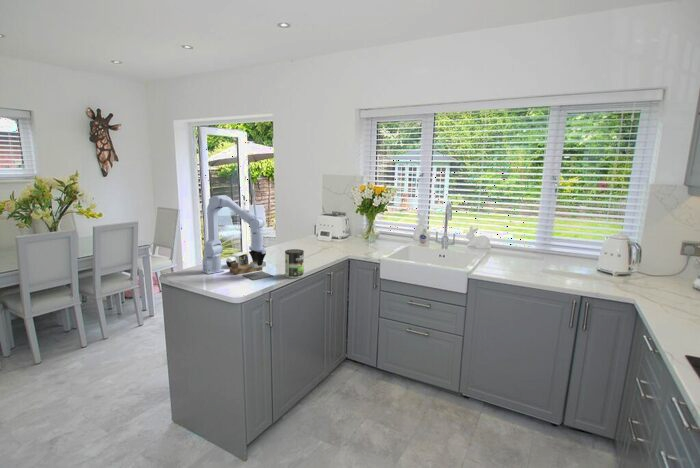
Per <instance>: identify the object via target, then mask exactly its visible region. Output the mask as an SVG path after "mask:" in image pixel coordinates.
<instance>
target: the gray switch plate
mask: <svg viewBox="0 0 700 468" xmlns="http://www.w3.org/2000/svg"><path fill="white" fill-rule="evenodd" d="M242 276H243V277H245V278H247V279H249V280H252V281H257V280H263V279H267V278H272V277H274V275H273V274H270V273H268V272H265V271H263V270H260V271H255V272H249V273H244V274H242Z"/></svg>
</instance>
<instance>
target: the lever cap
mask: <svg viewBox="0 0 700 468" xmlns="http://www.w3.org/2000/svg"><path fill="white" fill-rule="evenodd" d="M249 264H250V267H253V268H259V267H262V268H265V267H267V262H266V261H264V260H263V263H262V265H261V266H258V262H257V261H250V262H249Z"/></svg>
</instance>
